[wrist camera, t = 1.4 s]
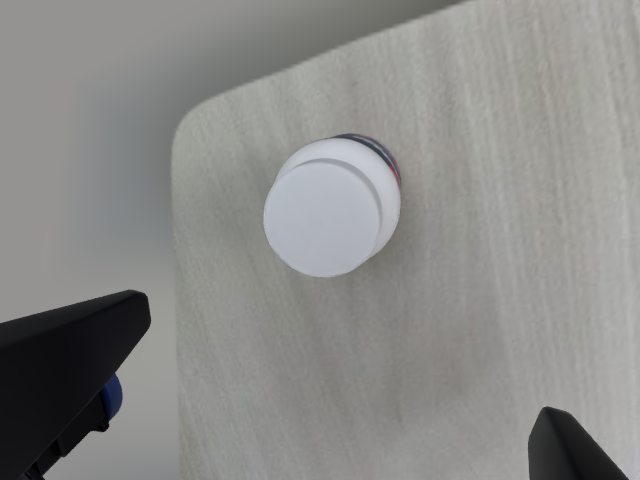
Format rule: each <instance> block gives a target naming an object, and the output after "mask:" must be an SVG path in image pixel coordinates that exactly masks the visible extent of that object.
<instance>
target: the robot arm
mask: <svg viewBox="0 0 640 480" xmlns="http://www.w3.org/2000/svg"><path fill="white" fill-rule="evenodd" d="M150 324H151V316H150V309H149V303H148V297H147V296H146V294H144V293H142V292H138V291H135V290H126V291H122V292H118V293H114V294H110V295H107V296H103V297H99V298H95V299H92V300H88V301H84V302H80V303H76V304H72V305H69V306H65V307H61V308H57V309H53V310H49V311H45V312H42V313H38V314H34V315H30V316H26V317H22V318H18V319H14V320H11V321H7V322H3V323H0V480H45V479H44V478H43V477H42V476H43V475H44V474H45V473H46V472H47V471H48V470H49V469H50V468H51V467H52V466H53V465H54V464H55V463H56V462H57V461H58V460H59V458H61V457H65V456H66V455H67V454H68V453H69V452H70V451H71V450H72V449H73V448H74V447H75V446H76V445H77V444H78V443H79V442H80V441H81V440H82V439H83V438H84V437H85V436H86V435H87V434H88V433H89V432H90V431H97V432H105V431H106V430H107V429H108V428H109V421H108V417H107V413H106V409H105V405H104V401H103V397H102V393H101V389H102V388H103V386H104V385H105V384H106V383H107V382H108V381H109V380H110V378H111V377H112V376H113V375H114V373H115V372H116V371H117V370H118V368H119V367H120V365H121V364H122V363H123V362H124V360H125V359H126V358H127V356H128V355H129V354H130V353H131V351H132V350H133V349H134V347H135V346H136V345H137V343H138V342H139V341H140V339H141V338H142V337H143V336H144V334H145V333H146V332H147V330H148V329H149V327H150ZM528 458H529V478H530V480H629V479H628V478H627V477H626V476H625V474H624V473H623V472H622V471H621V470H620V469H619V468H618V467H617V465H616V464H615V463H614V462H613V461H612V460H611V459H610V458H609V456H608V455H607V454H606V453H605V452H604V451H603V450H602V448H601V447H600V446H599V445H598V444H597V443H596V442H595V441H594V439H593V438H592V437H591V436H590V435H589V434H588V433H587V432H586V430H585V429H584V428H583V427H582V426H581V425H580V424H579V423H578V421H577V420H576V419H575V418H574V417H573V416H572V415H571V414H570V413H568V412H566V411H563V410H559V409H556V408H552V407H548V406H547V407H543V408H542V410H541V411H540V413H539V415H538V418H537V420H536V422H535V425H534V427H533V429H532V431H531V434H530V436H529V441H528Z"/></svg>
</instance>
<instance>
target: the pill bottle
mask: <svg viewBox="0 0 640 480" xmlns="http://www.w3.org/2000/svg"><path fill="white" fill-rule="evenodd" d="M400 211H401V179H400V173H399V169H398V166H397V163H396V161H395V159H394V157H393V156H392V154H391V153H390V152H389V151H388V149H387V148H386V147H385V146H383V145H382V144H381V143H380V142H378V141H377V140H375V139H373V138H371V137H368V136H365V135H361V134H342V135H338V136H334V137H330V138H326V139H322V140H318V141H315V142H312V143H310V144H308V145H306V146H304V147H302V148H301V149H299V150H298V151H296V152H295V153H294V154H293V155H292V156H291V157H290V158H289V159H288V160H287V161H286V162H285V163H284V165H283V166H282V168H281V169H280V171H279V173H278V175H277V177H276V180H275V183H274V185H273V187H272V188H271V190H270V192H269V194H268V196H267V199H266V202H265V206H264V212H263V223H264V230H265V234H266V237H267V239H268V242H269V244H270V245H271V247H272V249H273V251H274V252H275V253H276V255H277V256H278V257H279V258H280V259H281V260H282V261H283V262H284V263H285V264H287V265H288V266H289V267H291V268H292V269H294V270H296V271H298V272H300V273H302V274H305V275H308V276H313V277H320V278H329V277H336V276H340V275H343V274H346V273H348V272H350V271H352V270H354V269H355V268H357V267H358V266H359V265H361V264H362V263H363V262H364V261H366V260H367V259H369V258H371V257H372V256H374V255H375V254H376V253H378V252H379V251H380V250H381V249H382V248H383V247H384V246H385V245H386V244H387V242H388V241H389V240H390V238H391V237H392V235H393V233H394V231H395V229H396V226H397V223H398V220H399V216H400Z"/></svg>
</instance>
